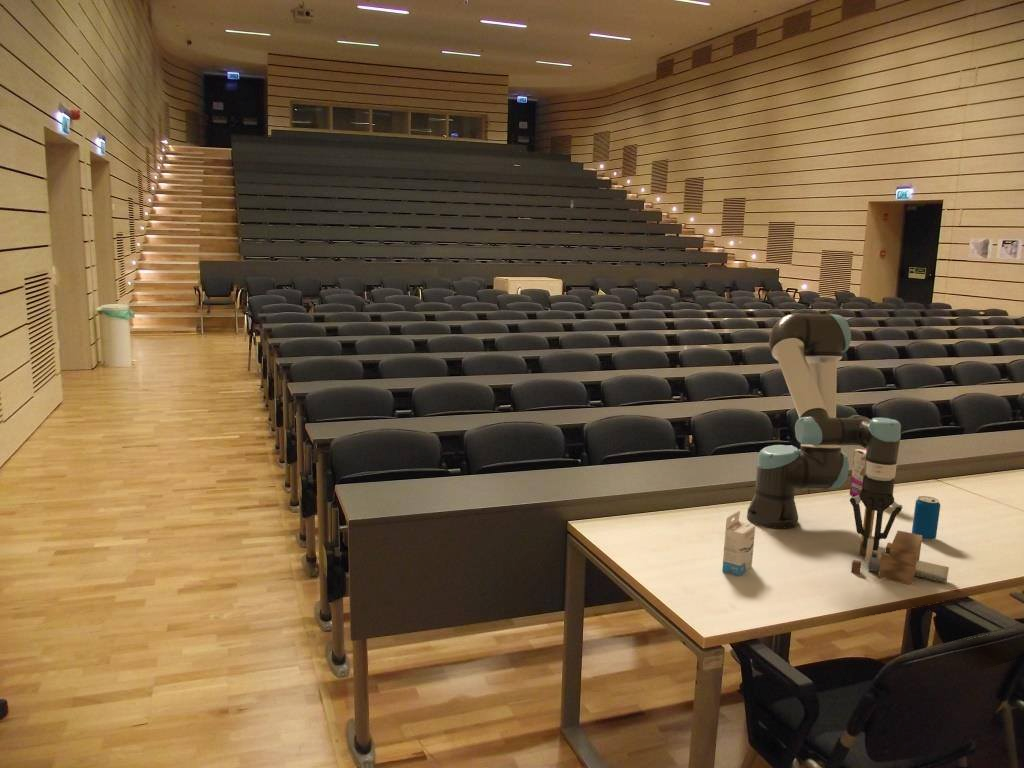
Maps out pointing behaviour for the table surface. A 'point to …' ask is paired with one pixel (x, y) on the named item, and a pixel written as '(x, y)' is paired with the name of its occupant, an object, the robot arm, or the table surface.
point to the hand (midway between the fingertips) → (868, 560)
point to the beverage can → (926, 517)
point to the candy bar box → (858, 471)
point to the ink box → (738, 545)
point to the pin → (921, 569)
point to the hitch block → (897, 558)
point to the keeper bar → (871, 524)
